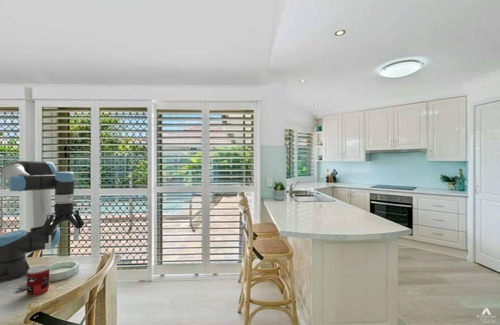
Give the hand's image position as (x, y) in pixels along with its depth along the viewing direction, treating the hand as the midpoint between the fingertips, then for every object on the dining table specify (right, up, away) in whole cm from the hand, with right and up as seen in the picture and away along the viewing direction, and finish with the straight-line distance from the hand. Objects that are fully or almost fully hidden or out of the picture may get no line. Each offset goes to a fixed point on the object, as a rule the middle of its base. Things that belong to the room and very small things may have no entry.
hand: (62, 244), depth 118 cm
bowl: (-12, -21, +13) cm, 28 cm away
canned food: (-8, -21, -5) cm, 23 cm away
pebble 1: (-18, -21, 0) cm, 28 cm away
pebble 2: (-16, -21, -3) cm, 26 cm away
